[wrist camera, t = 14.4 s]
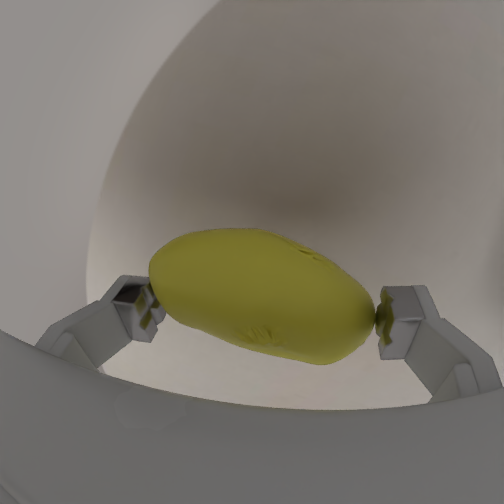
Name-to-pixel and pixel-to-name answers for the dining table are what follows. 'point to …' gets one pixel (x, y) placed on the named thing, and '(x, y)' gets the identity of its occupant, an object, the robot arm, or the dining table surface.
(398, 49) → the dining table surface
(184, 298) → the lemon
